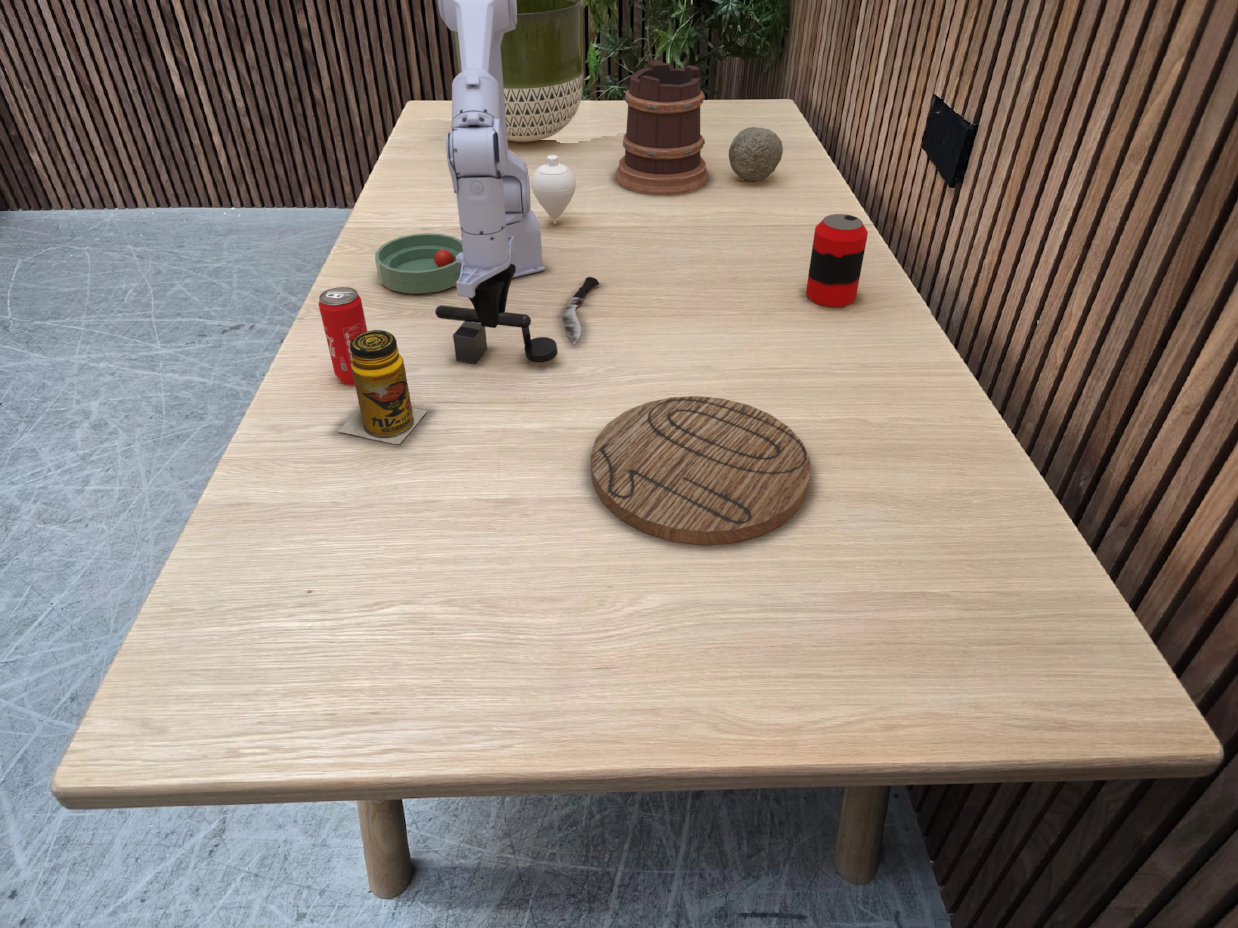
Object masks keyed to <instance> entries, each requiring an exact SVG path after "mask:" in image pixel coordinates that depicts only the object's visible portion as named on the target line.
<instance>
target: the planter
mask: <svg viewBox="0 0 1238 928" xmlns="http://www.w3.org/2000/svg"><path fill="white" fill-rule="evenodd" d="M516 1H517V24H516V28H515V29H514V30H511V31H509V32H506V33H504V35H503V38H502V42H501V60H502V74H503V87H504V100H505V113H506V127H507V140H508V141H510V142H519V143H529V142H530V143H531V142H536V141H542V140H545V139H548V138H550V137H553V136H554V135H556V134H558V133H559V132H561V131H562V130H563V129H564V128H566V127H567V126H568V124H569V123H570V122H571V121H572V120H573V118H574V117H575V116H576V114H577V112H578V110H579V108H580V105H581V101H582V97H583V91H584V81H585V79H584V77H585V75H584V74H585V73H584V72H585V70H584V69H585V67H584V65H585V61H584V60H585V52H584V51H585V50H584V49H585V47H584V46H585V45H584V41H585V40H584V22H585V21H584V20H585V19H584V17H585V16H584V0H516ZM452 34H453V35H452V36H453V41H454V42H453V43H454V52H455V59H456V67H457V75H458V74H460V73H461V72H462V69H461V59H460V48H459V38H458V32H455V31H452Z"/></svg>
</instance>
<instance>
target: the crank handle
mask: <svg viewBox="0 0 1238 928" xmlns="http://www.w3.org/2000/svg"><path fill="white" fill-rule="evenodd" d="M434 313H435V316H436V317H437V318H438V319H441V320H450V321H457V322H458V321H459V322H465V321H467V322H474V323H480V321H479V319H478V316H477V313H476V311H475V309H474V308H470V307H462V306H451V305H442V304H441V305H438V306H436V308H435V310H434ZM531 324H532V318H531V317H530V315H528V314H525V313H516V312H509V311H508V312H507V311H505V312H499V319H498V324H497V326H503V327H512V328H520V329H521V333H522V341H523V345H524V348H523V349H524V355H525V358H526V360H528V361H529V362H531V363H535V364H543V363H548V362H550V361H552V360H554V359H555V358H556V357H557V356H558V344H557V342H556V341H555V340H554V339H553V338H551V337H548V336H547V337H546V336H537V337H534V338H532V336H531V330H530V326H531ZM531 338H532V339H531Z"/></svg>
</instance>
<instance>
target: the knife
mask: <svg viewBox="0 0 1238 928" xmlns="http://www.w3.org/2000/svg"><path fill="white" fill-rule="evenodd" d="M598 285H600V282H599V280H598V279H597V278H595V277H593V276H587V277H585V279H584V282H583V284H582V286H580V287H579V288H578V289H577V291H576V292H575V294H574V295H573V296H572V297H571V299H570V301H569V302H568V304H567V306H566V307H565V310H564V311H563V313H562V315H561V317H562V323H563V327H564V330H565V334H566V336H567V338H568V339H569V341H570V342H571V343H572V344H573V345H574V346H575V345H576V344H577V342H578V341H579V340H580V338H581V334H582V326H581V323H580V320H579V318H578V316H577V314H576V309H577V307H579V306H580V305H582V304H583V303H584V299H585V297H586V294H588V293H589V291H590V290H591V289H593V288H594V287H597V286H598Z"/></svg>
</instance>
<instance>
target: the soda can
mask: <svg viewBox="0 0 1238 928" xmlns="http://www.w3.org/2000/svg"><path fill="white" fill-rule="evenodd" d="M868 234H869V232H868V229H867V228H866V226H865V225H864V222H863V220H861V219H860V218H859V217H857V216H854V215H850V214H847V213H834V214H828V215H826V216H824V217H823V218H822V219H821V221H820V222H819V223H817V225H816V226H815V228H814V233H813V240H812V246H811V253H810V254H811V255H810V261H809V269H808V275H807V282H806V290H805V294H806V296H807V297H808V299H809V300H810V301H811V302H813V303H814V304H816V305H819V306H822V307H826V308H842V307H847V306H849V305H851V304H852V303H853V302H854V301H856V299H857V295H858V290H859V283H860V278H861V272H862V269H863V268H862V267H863V263H864V257H865V253H866V252H865V251H866V246H867V241H868V236H869V235H868Z"/></svg>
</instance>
